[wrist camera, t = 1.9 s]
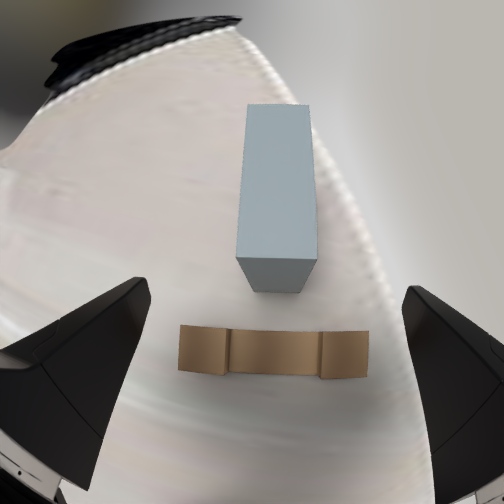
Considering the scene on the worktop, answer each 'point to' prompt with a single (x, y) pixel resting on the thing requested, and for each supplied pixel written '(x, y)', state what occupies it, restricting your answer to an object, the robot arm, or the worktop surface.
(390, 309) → the worktop surface
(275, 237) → the grey slotted plate
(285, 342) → the tan stepped bar
